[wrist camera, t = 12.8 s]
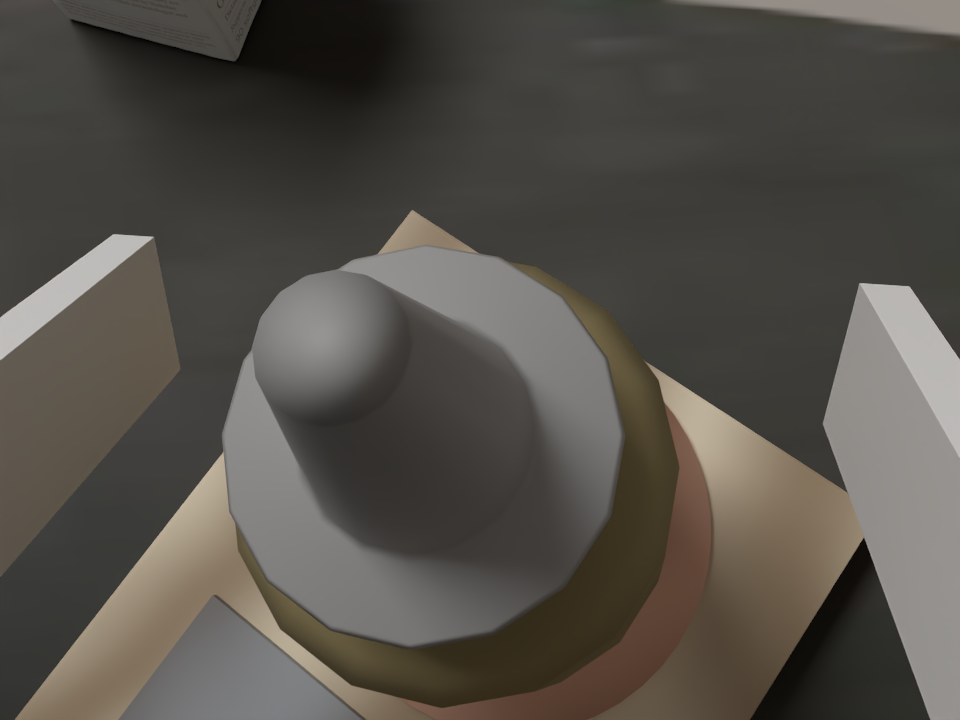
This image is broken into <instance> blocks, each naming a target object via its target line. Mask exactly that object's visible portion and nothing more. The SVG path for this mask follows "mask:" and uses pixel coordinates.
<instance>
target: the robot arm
mask: <svg viewBox="0 0 960 720" xmlns="http://www.w3.org/2000/svg"><path fill="white" fill-rule="evenodd" d="M179 371H180V365H179V360H178V355H177V350H176V345H175V340H174V335H173V330H172V325H171V320H170V315H169V310H168V305H167V300H166V295H165V290H164V285H163V280H162V275H161V270H160V265H159V260H158V255H157V250H156V245H155V240H154V237H146V236H131V235H115V234H113V235H112V236H111V237H109V238H108V239H107V240H105V241H104V242H103V243H101V244H100V245H98V246H97V247H96V248H94V249H93V250H92V251H90V252H89V253H88V254H86V255H85V256H83V257H82V258H81V259H79V260H78V261H77V262H75V263H74V264H72V265H71V266H70V267H68V268H67V269H66V270H64V271H63V272H62V273H60V274H59V275H57V276H56V277H55V278H53V279H52V280H51V281H49V282H48V283H47V284H45V285H44V286H42V287H41V288H40V289H38V290H37V291H36V292H34V293H33V294H32V295H30V296H29V297H27V298H26V299H25V300H23V301H22V302H21V303H19V304H18V305H17V306H15V307H14V308H12V309H11V310H10V311H8V312H7V313H6V314H4V315H3V316H2V317H0V577H1V576H2V575H3V573H4V572H5V571H6V570H7V569H8V568H9V566H10V565H11V564H12V563H13V562H14V561H15V560H16V558H17V557H18V556H19V555H20V554H21V553H22V551H23V550H24V549H25V548H26V547H27V546H28V545H29V543H30V542H31V541H32V540H33V539H34V538H35V536H36V535H37V534H38V533H39V532H40V531H41V530H42V528H43V527H44V526H45V525H46V524H47V523H48V522H49V520H50V519H51V518H52V517H53V516H54V515H55V513H56V512H57V511H58V510H59V509H60V508H61V507H62V505H63V504H64V503H65V502H66V501H67V500H68V498H69V497H70V496H71V495H72V494H73V493H74V492H75V490H76V489H77V488H78V487H79V486H80V485H81V483H82V482H83V481H84V480H85V479H86V478H87V477H88V475H89V474H90V473H91V472H92V471H93V470H94V469H95V467H96V466H97V465H98V464H99V463H100V462H101V460H102V459H103V458H104V457H105V456H106V455H107V454H108V452H109V451H110V450H111V449H112V448H113V447H114V445H115V444H116V443H117V442H118V441H119V440H120V439H121V437H122V436H123V435H124V434H125V433H126V432H127V431H128V429H129V428H130V427H131V426H132V425H133V424H134V422H135V421H136V420H137V419H138V418H139V417H140V416H141V414H142V413H143V412H144V411H145V410H146V409H147V407H148V406H149V405H150V404H151V403H152V402H153V401H154V399H155V398H156V397H157V396H158V395H159V394H160V392H161V391H162V390H163V389H164V388H165V387H166V386H167V384H168V383H169V382H170V381H171V380H172V379H173V378H174V376H175V375H176V374H177V373H178V372H179ZM823 425H824V428H825V431H826V434H827V436H828V439H829V442H830V445H831V447H832V450H833V453H834V456H835V458H836V461H837V464H838V467H839V470H840V472H841V475H842V478H843V481H844V483H845V486H846V489H847V492H848V494H849V497H850V500H851V503H852V505H853V508H854V511H855V514H856V516H857V519H858V522H859V525H860V527H861V530H862V533H863V536H864V538H865V541H866V544H867V547H868V549H869V552H870V555H871V558H872V560H873V563H874V566H875V569H876V571H877V574H878V577H879V580H880V582H881V585H882V588H883V591H884V593H885V596H886V599H887V602H888V604H889V607H890V610H891V613H892V615H893V618H894V621H895V624H896V626H897V629H898V632H899V635H900V637H901V640H902V643H903V646H904V648H905V651H906V654H907V657H908V659H909V662H910V665H911V668H912V670H913V673H914V676H915V679H916V681H917V684H918V687H919V690H920V692H921V695H922V698H923V701H924V703H925V706H926V709H927V712H928V714H929V717H930V720H960V360H959V358H958V357H957V355H956V354H955V352H954V351H953V349H952V348H951V346H950V345H949V344H948V342H947V341H946V339H945V338H944V336H943V335H942V333H941V332H940V330H939V329H938V328H937V326H936V325H935V323H934V322H933V320H932V319H931V317H930V316H929V314H928V313H927V312H926V310H925V309H924V307H923V306H922V304H921V303H920V301H919V300H918V298H917V297H916V295H915V294H914V293H913V291H912V290H911V288H910V287H909V286H893V285H878V284H863V283H860V284H859V287H858V291H857V295H856V299H855V303H854V307H853V310H852V314H851V318H850V322H849V326H848V330H847V333H846V337H845V341H844V345H843V349H842V353H841V356H840V360H839V364H838V368H837V372H836V376H835V379H834V383H833V387H832V391H831V395H830V399H829V402H828V406H827V410H826V414H825V418H824V422H823Z"/></svg>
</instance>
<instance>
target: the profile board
mask: <svg viewBox="0 0 960 720" xmlns="http://www.w3.org/2000/svg"><path fill="white" fill-rule="evenodd" d="M422 245H431V246H437V247H443V248H449V249H455V250H461V251H467V252H472V253H477V252H476V251H474V250H473V249H471V248H470V247H468V246H467V245H465V244H463V243H462V242H460V241H459V240H457V239H456V238H454V237H453V236H451V235H450V234H448V233H447V232H445V231H443V230H442V229H440V228H439V227H437V226H436V225H434V224H433V223H431V222H430V221H428V220H426V219H425V218H423V217H422V216H420V215H419V214H417V213H416V212H414V211H413V210H412V211H411V212H410V214H409V215H408V216H407V217H406V219H405V220H404V221H403V223H402V224H401V225H400V226H399V228H398V229H397V230H396V232H395V233H394V234H393V235H392V237H391V238H390V239H389V241H388V242H387V243H386V244H385V246H384V247H383V248H382V250H381V251H380V252H379V253H378V254H383V253H388V252H393V251H398V250H403V249H408V248H412V247H417V246H422ZM478 254H479V253H478ZM646 363H647V362H646ZM647 365H648V366H649V368H650V369H651V370H652V372H653V373H654V374H655V376H656V377H657V378H658V380H659V384H660V388H661V392H662V396H663V400H664V404H665V408H666V413H667V417H668V421H669V425H670V429H671V433H672V437H673V441H674V446H675V450H676V454H677V458H678V462H679V466H680V468H679V474H678V480H677V486H676V492H675V498H674V504H673V511H672V517H671V523H670V529H669V535H668V541H667V547H666V554H665V559H664V562H663V566H662V570H661V573H660V577H659V580H658V583H657V585H656V586H655V588H654V589H653V591H652V593H651V594H650V596H649V597H648V599H647V600H646V602H645V604H644V605H643V607H642V608H641V610H640V611H639V613H638V615H637V616H636V618H635V619H634V621H633V623H632V624H631V626H630V627H629V629H628V630H627V632H626V634H625V635H624V637H623V638H622V640H621V641H620V643H618V644H617V645H615V646H614V647H612V648H611V649H610V650H608V651H607V652H605V653H604V654H602V655H601V656H599V657H598V658H596V659H595V660H593V661H592V662H590V663H589V664H587V665H586V666H584V667H583V668H581V669H580V670H579V671H577V672H576V673H574V674H573V675H571V676H570V677H568V678H567V679H565V680H564V681H562V682H561V683H558V684H555V685H552V686H549V687H546V688H544V689H541V690H538V691H535V692H530V693H524V694H519V695H513V696H507V697H502V698H496V699H490V700H485V701H479V702H474V703H468V704H462V705H457V706H451V707H446V708H439V707H435V706H431V705H427V704H423V703H419V702H415V701H411V700H407V699H403V698H399V697H395V696H391V695H387V694H383V693H379V692H375V691H371V690H367V689H363V688H359V687H355V686H351V685H350V684H349V683H348V682H346V681H345V680H344V679H342V678H341V677H340V676H339V675H337V674H336V673H335V672H334V671H332V670H331V669H330V668H329V667H327V666H326V665H325V664H323V663H322V662H321V661H320V660H318V659H317V658H316V657H315V656H313V655H312V654H311V653H310V652H308V651H307V650H306V649H305V648H303V647H302V646H301V645H299V644H298V643H297V642H296V641H294V640H293V639H292V638H291V637H289V636H288V635H287V634H286V633H284V632H283V631H282V630H281V629H280V628H279V626H278V625H277V623H276V621H275V619H274V617H273V615H272V613H271V611H270V610H269V608H268V606H267V604H266V602H265V600H264V598H263V596H262V595H261V593H260V591H259V589H258V587H257V585H256V583H255V581H254V580H253V578H252V576H251V574H250V572H249V570H248V568H247V567H246V565H245V563H244V561H243V559H242V557H241V555H240V553H239V552H238V546H237V536H236V525H235V522H234V520H233V518H232V516H231V514H230V512H229V504H228V494H227V483H226V473H225V462H224V452H223V453H222V455H221V456H220V457H219V459H218V460H217V461H216V462H215V464H214V465H213V466H212V467H211V469H210V470H209V471H208V473H207V474H206V475H205V476H204V478H203V479H202V480H201V482H200V483H199V484H198V485H197V487H196V488H195V489H194V491H193V492H192V493H191V494H190V496H189V497H188V498H187V500H186V501H185V502H184V503H183V505H182V506H181V507H180V509H179V510H178V511H177V512H176V514H175V515H174V516H173V517H172V519H171V520H170V521H169V523H168V524H167V525H166V526H165V528H164V529H163V530H162V532H161V533H160V534H159V535H158V537H157V538H156V539H155V541H154V542H153V543H152V544H151V546H150V547H149V548H148V550H147V551H146V552H145V553H144V555H143V556H142V557H141V559H140V560H139V561H138V562H137V564H136V565H135V566H134V567H133V569H132V570H131V571H130V573H129V574H128V575H127V576H126V578H125V579H124V580H123V582H122V583H121V584H120V585H119V587H118V588H117V589H116V591H115V592H114V593H113V594H112V596H111V597H110V598H109V600H108V601H107V602H106V603H105V605H104V606H103V607H102V609H101V610H100V611H99V612H98V614H97V615H96V616H95V618H94V619H93V620H92V621H91V623H90V624H89V625H88V626H87V628H86V629H85V630H84V632H83V633H82V634H81V635H80V637H79V638H78V639H77V641H76V642H75V643H74V644H73V646H72V647H71V648H70V650H69V651H68V652H67V653H66V655H65V656H64V657H63V659H62V660H61V661H60V662H59V664H58V665H57V666H56V668H55V669H54V670H53V671H52V673H51V674H50V675H49V676H48V678H47V679H46V680H45V682H44V683H43V684H42V685H41V687H40V688H39V689H38V691H37V692H36V693H35V694H34V696H33V697H32V698H31V700H30V701H29V702H28V703H27V705H26V706H25V707H24V709H23V710H22V711H21V712H20V714H19V715H18V716H17V718H16V719H15V720H750V719H751V717H752V715H753V714H754V712H755V711H756V709H757V707H758V706H759V704H760V703H761V701H762V699H763V698H764V696H765V695H766V693H767V691H768V690H769V688H770V687H771V685H772V683H773V682H774V680H775V679H776V677H777V675H778V674H779V672H780V671H781V669H782V667H783V666H784V664H785V663H786V661H787V659H788V658H789V656H790V655H791V653H792V651H793V650H794V648H795V647H796V645H797V643H798V642H799V640H800V639H801V637H802V635H803V634H804V632H805V631H806V629H807V627H808V626H809V624H810V623H811V621H812V619H813V618H814V616H815V615H816V613H817V611H818V610H819V608H820V607H821V605H822V603H823V602H824V600H825V599H826V597H827V595H828V594H829V592H830V591H831V589H832V587H833V586H834V584H835V583H836V581H837V579H838V578H839V576H840V575H841V573H842V571H843V570H844V568H845V567H846V565H847V563H848V562H849V560H850V559H851V557H852V555H853V554H854V552H855V551H856V549H857V547H858V546H859V544H860V543H861V541H862V539H863V538H864V536H863V533H862V530H861V527H860V525H859V522H858V519H857V516H856V514H855V511H854V508H853V505H852V503H851V500H850V497H849V494H848V493H847V492H845V491H844V490H842V489H841V488H839V487H838V486H836V485H835V484H833V483H832V482H830V481H828V480H827V479H825V478H824V477H822V476H821V475H819V474H818V473H816V472H815V471H813V470H812V469H810V468H808V467H807V466H805V465H804V464H802V463H801V462H799V461H798V460H796V459H795V458H793V457H792V456H790V455H788V454H787V453H785V452H784V451H782V450H781V449H779V448H778V447H776V446H775V445H773V444H771V443H770V442H768V441H767V440H765V439H764V438H762V437H761V436H759V435H758V434H756V433H755V432H753V431H751V430H750V429H748V428H747V427H745V426H744V425H742V424H741V423H739V422H738V421H736V420H735V419H733V418H731V417H730V416H728V415H727V414H725V413H724V412H722V411H721V410H719V409H718V408H716V407H715V406H713V405H711V404H710V403H708V402H707V401H705V400H704V399H702V398H701V397H699V396H698V395H696V394H694V393H693V392H691V391H690V390H688V389H687V388H685V387H684V386H682V385H681V384H679V383H678V382H676V381H674V380H673V379H671V378H670V377H668V376H667V375H665V374H664V373H662V372H661V371H659V370H658V369H656V368H654V367H653V366H651V365H650V364H648V363H647Z"/></svg>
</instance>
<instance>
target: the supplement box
mask: <svg viewBox="0 0 960 720" xmlns="http://www.w3.org/2000/svg"><path fill="white" fill-rule="evenodd" d="M52 1H53V2H54V3H55V4H56V6H57V7H58V8H59V9H60V10H61V11H62V13H63V14H64V15H65V16H66V17H67V18H69V19H73V20H76V21H80V22H84V23H88V24H91V25H94V26H98V27H102V28H106V29H110V30H113V31H117V32H121V33H124V34H128V35H131V36H135V37H140V38H144V39H147V40H151V41H154V42H158V43H161V44H165V45H169V46H173V47H177V48H181V49H184V50H188V51H192V52H196V53H200V54H204V55H207V56H211V57H215V58H219V59H224V60H229V61H236V60H237V58H238V57H239V54H240V52H241V49H242V47H243V44H244V41H245V39H246V36H247V34H248V31H249V29H250V26H251V24H252V21H253V19H254V17H255V15H256V12H257V10H258V8H259V5H260V3H261V1H262V0H52Z"/></svg>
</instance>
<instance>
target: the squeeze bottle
mask: <svg viewBox="0 0 960 720" xmlns="http://www.w3.org/2000/svg"><path fill="white" fill-rule="evenodd" d="M222 441H223V452H224V462H225V473H226V483H227V494H228V504H229V512H230V514H231V516H232V518H233V520H234V522H235V525H236V536H237V546H238V552H239V553H240V555H241V557H242V559H243V561H244V563H245V565H246V567H247V568H248V570H249V572H250V574H251V576H252V578H253V580H254V581H255V583H256V585H257V587H258V589H259V591H260V593H261V595H262V596H263V598H264V600H265V602H266V604H267V606H268V608H269V610H270V611H271V613H272V615H273V617H274V619H275V621H276V623H277V625H278V626H279V628H280V629H281V630H282V631H283V632H284V633H286V634H287V635H288V636H289V637H291V638H292V639H293V640H294V641H296V642H297V643H298V644H299V645H301V646H302V647H303V648H305V649H306V650H307V651H308V652H310V653H311V654H312V655H313V656H315V657H316V658H317V659H318V660H320V661H321V662H322V663H323V664H325V665H326V666H327V667H329V668H330V669H331V670H332V671H334V672H335V673H336V674H337V675H339V676H340V677H341V678H342V679H344V680H345V681H346V682H348V683H349V684H350V685H351V686H355V687H359V688H363V689H367V690H371V691H375V692H379V693H383V694H387V695H391V696H395V697H399V698H403V699H407V700H411V701H415V702H419V703H423V704H427V705H431V706H435V707H439V708H446V707H451V706H457V705H462V704H468V703H474V702H479V701H485V700H490V699H496V698H502V697H507V696H513V695H519V694H524V693H530V692H535V691H538V690H541V689H544V688H546V687H549V686H552V685H555V684H558V683H561V682H562V681H564V680H565V679H567V678H568V677H570V676H571V675H573V674H574V673H576V672H577V671H579V670H580V669H581V668H583V667H584V666H586V665H587V664H589V663H590V662H592V661H593V660H595V659H596V658H598V657H599V656H601V655H602V654H604V653H605V652H607V651H608V650H610V649H611V648H612V647H614V646H615V645H617V644H618V643H620V641H621V640H622V638H623V637H624V635H625V634H626V632H627V630H628V629H629V627H630V626H631V624H632V623H633V621H634V619H635V618H636V616H637V615H638V613H639V611H640V610H641V608H642V607H643V605H644V604H645V602H646V600H647V599H648V597H649V596H650V594H651V593H652V591H653V589H654V588H655V586H656V585H657V583H658V580H659V577H660V573H661V570H662V566H663V562H664V559H665V554H666V547H667V541H668V535H669V529H670V523H671V517H672V511H673V504H674V498H675V492H676V486H677V480H678V474H679V468H680V466H679V462H678V458H677V454H676V450H675V446H674V441H673V437H672V433H671V429H670V425H669V421H668V417H667V413H666V408H665V404H664V400H663V396H662V392H661V388H660V384H659V380H658V378H657V377H656V376H655V374H654V373H653V372H652V370H651V369H650V368H649V366H648V365H647V363H646V362H645V361H644V359H643V358H642V357H641V355H640V354H639V353H638V351H637V350H636V348H635V347H634V346H633V344H632V343H631V342H630V340H629V339H628V338H627V336H626V335H625V333H624V332H623V331H622V329H621V328H620V327H619V325H618V324H617V323H616V321H615V320H614V318H613V317H612V316H611V314H610V313H609V312H608V310H606V309H604V308H603V307H601V306H599V305H598V304H596V303H594V302H593V301H591V300H590V299H588V298H586V297H585V296H583V295H581V294H580V293H578V292H576V291H575V290H573V289H572V288H570V287H568V286H567V285H565V284H563V283H562V282H560V281H559V280H557V279H555V278H554V277H552V276H550V275H549V274H547V273H545V272H544V271H542V270H541V269H539V268H537V267H534V266H528V265H522V264H516V263H511V262H507V261H505V260H503V259H502V258H500V257H496V256H490V255H484V254H478V253H472V252H467V251H461V250H455V249H449V248H443V247H437V246H431V245H422V246H417V247H412V248H408V249H403V250H398V251H393V252H388V253H383V254H378V255H373V256H369V257H364V258H359V259H354V260H352V261H350V262H349V263H347V264H346V265H344V266H342V267H341V268H339V269H338V270H332V271H327V272H322V273H317V274H313V275H308V276H305V277H304V278H302V279H300V280H299V281H297V282H296V283H294V284H292V285H291V286H289V287H288V288H286V289H284V290H283V291H281V292H280V293H279V294H278V295H277V297H276V298H275V299H274V301H273V302H272V303H271V305H270V306H269V307H268V308H267V310H266V311H265V312H264V314H263V315H262V316H261V318H260V321H259V325H258V328H257V332H256V335H255V338H254V342H253V345H252V350H251V351H250V353H249V354H248V355H247V357H246V358H245V359H244V360H243V364H242V367H241V371H240V374H239V378H238V381H237V384H236V388H235V391H234V395H233V398H232V401H231V405H230V408H229V412H228V415H227V419H226V422H225V425H224V429H223V432H222Z"/></svg>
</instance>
